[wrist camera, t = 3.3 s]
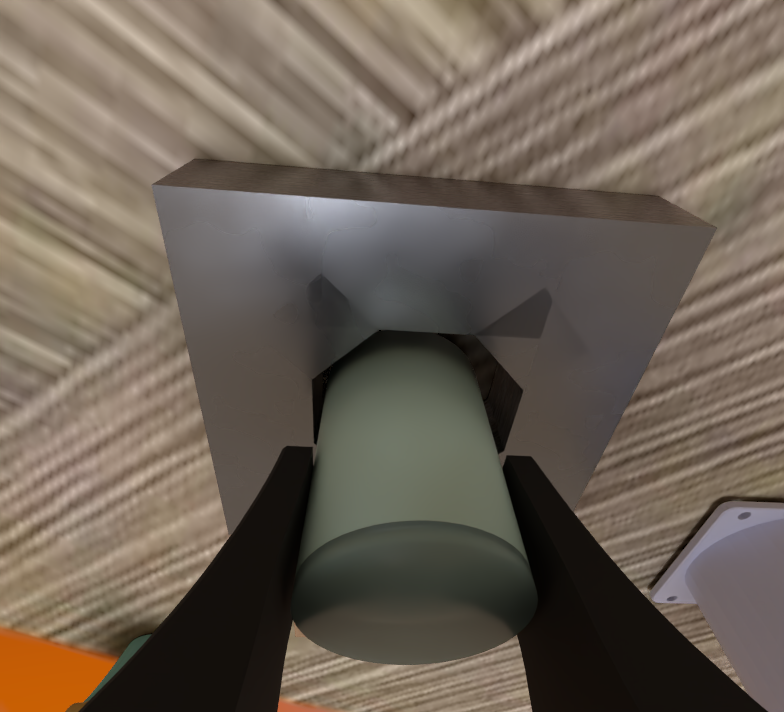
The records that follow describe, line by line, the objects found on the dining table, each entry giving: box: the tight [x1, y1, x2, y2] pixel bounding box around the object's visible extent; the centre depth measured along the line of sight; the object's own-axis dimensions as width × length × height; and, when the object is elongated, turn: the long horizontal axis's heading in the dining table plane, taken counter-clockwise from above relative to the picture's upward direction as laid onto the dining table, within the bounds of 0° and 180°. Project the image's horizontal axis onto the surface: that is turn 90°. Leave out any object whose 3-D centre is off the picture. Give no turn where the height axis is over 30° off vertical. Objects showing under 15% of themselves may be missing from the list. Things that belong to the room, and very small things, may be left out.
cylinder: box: [291, 330, 538, 665], centre depth 11 cm, size 5×5×6 cm
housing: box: [152, 159, 717, 534], centre depth 14 cm, size 12×12×2 cm
